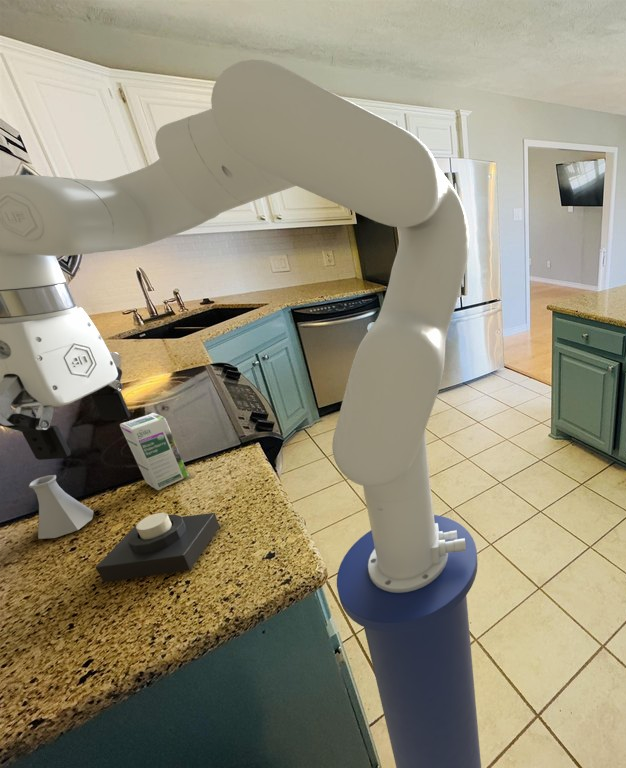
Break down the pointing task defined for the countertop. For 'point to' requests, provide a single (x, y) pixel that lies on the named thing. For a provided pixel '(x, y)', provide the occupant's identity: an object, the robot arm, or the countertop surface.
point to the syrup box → (154, 450)
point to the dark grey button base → (160, 549)
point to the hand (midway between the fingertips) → (88, 436)
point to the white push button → (153, 526)
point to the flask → (58, 509)
